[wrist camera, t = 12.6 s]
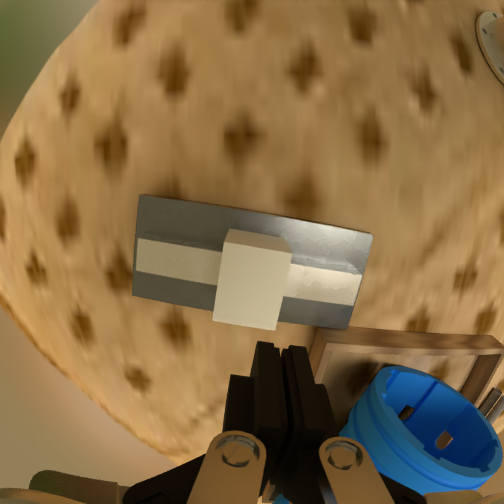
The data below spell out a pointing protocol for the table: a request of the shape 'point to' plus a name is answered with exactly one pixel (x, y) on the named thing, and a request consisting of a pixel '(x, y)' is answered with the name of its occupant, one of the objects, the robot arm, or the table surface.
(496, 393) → the metal rod assembly
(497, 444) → the tube
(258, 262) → the block
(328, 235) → the rail board
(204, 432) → the table surface
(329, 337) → the brown wooden tray
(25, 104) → the table surface
